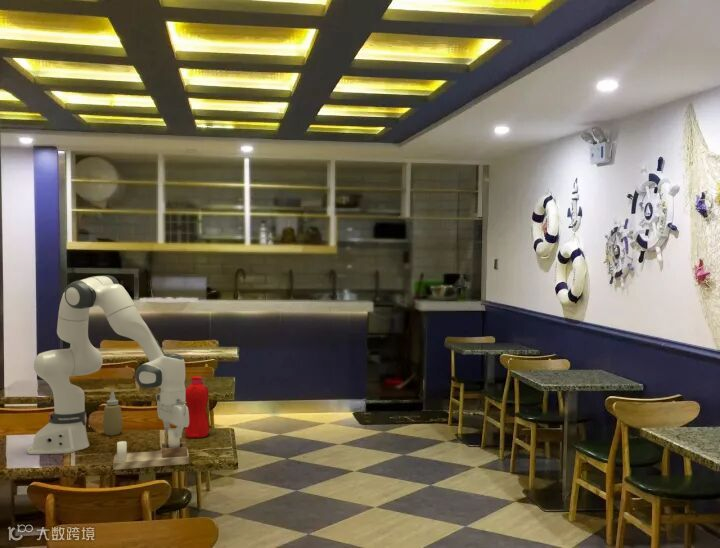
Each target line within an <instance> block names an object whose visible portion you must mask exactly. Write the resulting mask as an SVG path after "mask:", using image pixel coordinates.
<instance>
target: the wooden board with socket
mask: <svg viewBox="0 0 720 548" xmlns="http://www.w3.org/2000/svg"><path fill="white" fill-rule="evenodd" d="M189 464H190V454H189V449H188V445H187V442H186V441H183V442H182V441H180V447H176V448H169V444H168V442H167V443H162V444H161V450H154V451H152V450H151V451H140V452H139V451H138V452H129V453H128V452H127V460H126V461H122V462H119V461H117V453H116V454H114V457H113V462H112V470H113V471H116V470H128V469H140V468H152V467H153V468H155V467H163V466H164V467H165V466H166V467H167V466H176V465H189Z"/></svg>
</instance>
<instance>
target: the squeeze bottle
mask: <svg viewBox="0 0 720 548" xmlns="http://www.w3.org/2000/svg"><path fill="white" fill-rule="evenodd" d="M123 426H124V423H123V415H122V407H121V405H120V404H119V400H118V399H116V395H115V392H114V391H111V392H110V394H109V399H107V400H106V405H105V406H104V410H103V418H102V429H103V432H104V434H105V435H106V436H111V437H112V436H116V435H117V436H118V435H120V434H121V431H122V429H123Z"/></svg>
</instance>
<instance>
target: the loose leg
mask: <svg viewBox="0 0 720 548" xmlns="http://www.w3.org/2000/svg"><path fill="white" fill-rule="evenodd" d="M170 428H171V427H170ZM176 433H177V429H176V427H175V428H174V427H172V428H171V429H168V433H167V435H168V437H167V438H168V442H167V443H168V444H169V448H176V447H180V442H181V441H180V440H181V438H176Z"/></svg>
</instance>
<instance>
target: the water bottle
mask: <svg viewBox="0 0 720 548" xmlns="http://www.w3.org/2000/svg"><path fill="white" fill-rule="evenodd" d="M190 380H191V381H190V385H188V386H187V387H186V388H185V403H186V404H185V405H186V406H187V407H188V412H189V426H188V427H184V434H185V437H186V438H189V439H192V438H193V439H202V438H205V437H207V436H208V435H209V434H210V421H209V419H208V413H207V407H208V408H210V409H211V408H212V406H213V405H211V406H209V405H208V402H209V395H210V397H212V396H211V395H212V394H211V392H210V390H209V388H208V387H207V385H205V384H204V381H203V377H202V376H199V375H195V376H191V378H190ZM210 399H211V400H210V401H211V402H213V399H212V398H210Z"/></svg>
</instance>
